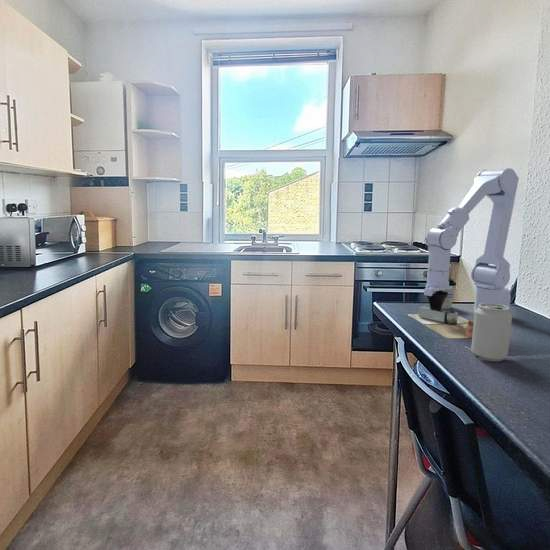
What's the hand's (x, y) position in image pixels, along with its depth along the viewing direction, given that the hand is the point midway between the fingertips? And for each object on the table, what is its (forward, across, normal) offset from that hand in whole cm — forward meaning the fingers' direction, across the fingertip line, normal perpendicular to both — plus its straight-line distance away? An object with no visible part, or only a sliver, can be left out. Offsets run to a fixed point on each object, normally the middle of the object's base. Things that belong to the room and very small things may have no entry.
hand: (435, 315), depth 127 cm
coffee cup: (+2, +16, +3) cm, 16 cm away
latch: (0, -2, -2) cm, 3 cm away
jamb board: (+2, -3, -6) cm, 6 cm away
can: (+2, -21, -20) cm, 29 cm away
